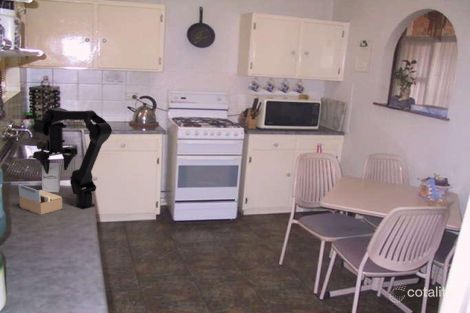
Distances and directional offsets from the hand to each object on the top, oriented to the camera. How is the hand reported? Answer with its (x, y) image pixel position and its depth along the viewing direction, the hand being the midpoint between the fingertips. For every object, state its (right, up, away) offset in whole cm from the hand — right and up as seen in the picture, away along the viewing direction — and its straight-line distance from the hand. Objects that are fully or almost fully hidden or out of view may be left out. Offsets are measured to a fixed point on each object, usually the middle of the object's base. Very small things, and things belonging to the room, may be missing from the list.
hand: (56, 171), depth 194 cm
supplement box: (-8, -9, +14) cm, 18 cm away
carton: (-2, -15, -10) cm, 18 cm away
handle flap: (-4, -8, -16) cm, 19 cm away
